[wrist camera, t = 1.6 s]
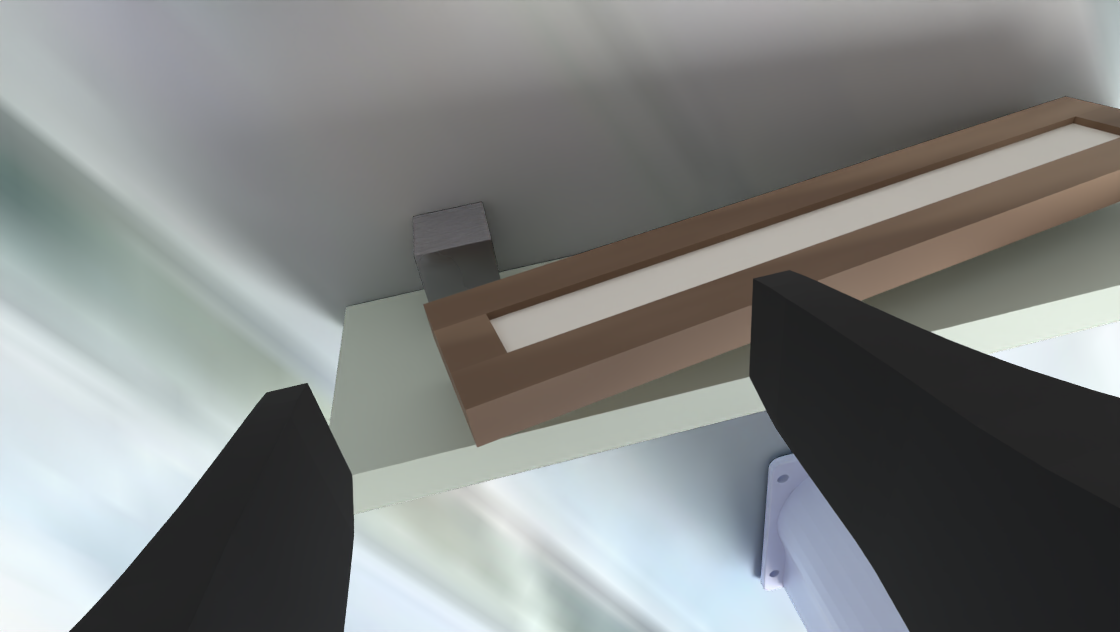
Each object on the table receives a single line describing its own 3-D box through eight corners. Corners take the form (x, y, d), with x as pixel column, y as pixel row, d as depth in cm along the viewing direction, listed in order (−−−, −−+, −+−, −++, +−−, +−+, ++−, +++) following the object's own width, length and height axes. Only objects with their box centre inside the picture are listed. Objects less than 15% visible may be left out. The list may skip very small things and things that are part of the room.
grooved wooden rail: (1054, 128, 20) (1203, 169, 17) (434, 338, 15) (477, 447, 12) (1065, 96, 19) (1220, 132, 16) (422, 304, 15) (465, 409, 12)
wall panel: (1107, 165, 22) (1350, 262, 17) (358, 338, 20) (340, 518, 14) (1147, 58, 20) (1441, 125, 14) (317, 237, 18) (277, 400, 12)
